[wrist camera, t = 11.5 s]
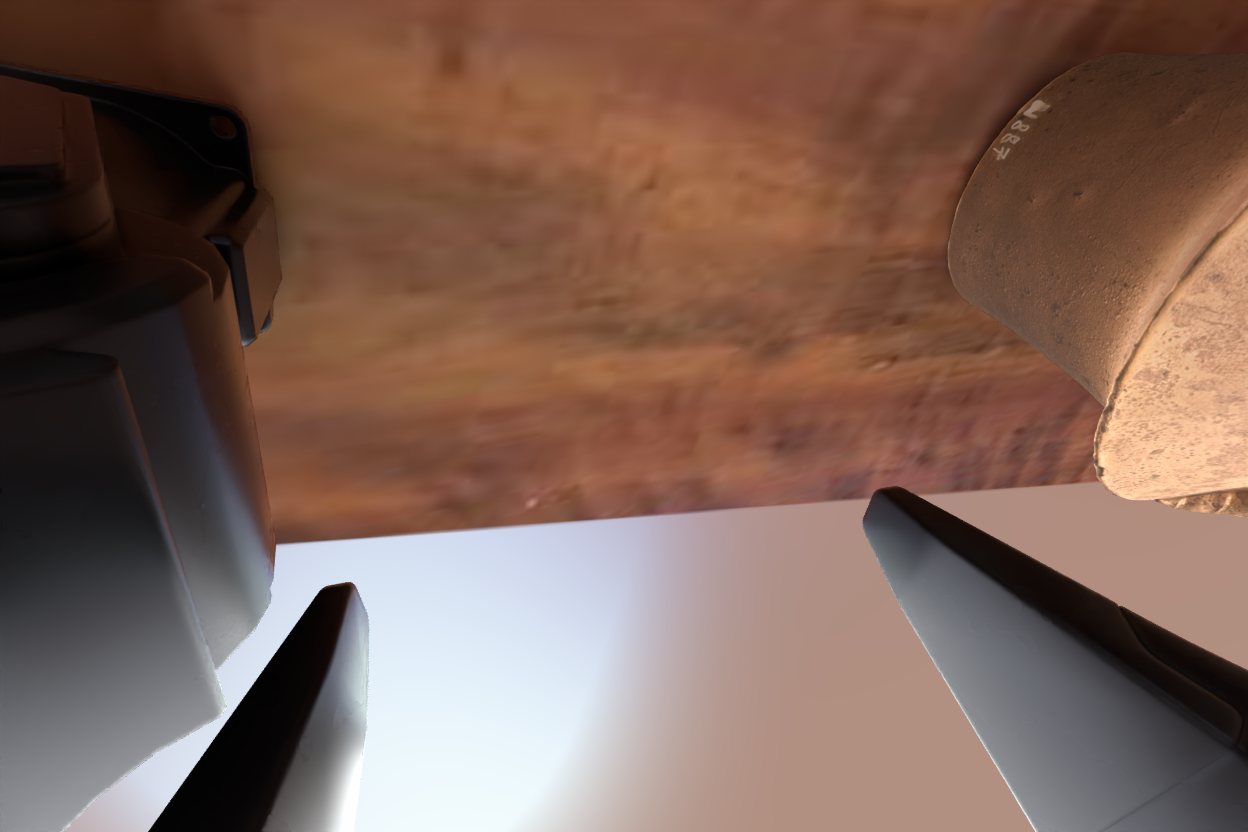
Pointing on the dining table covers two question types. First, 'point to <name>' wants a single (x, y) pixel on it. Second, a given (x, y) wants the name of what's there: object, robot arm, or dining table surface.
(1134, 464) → the pitcher
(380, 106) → the dining table surface
